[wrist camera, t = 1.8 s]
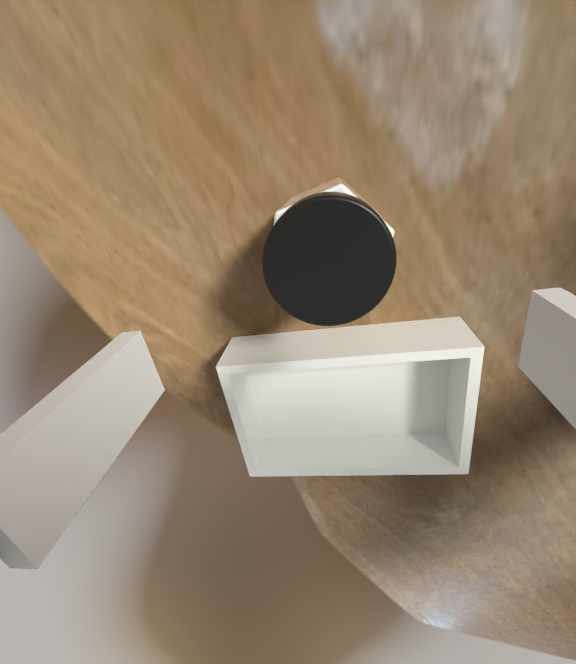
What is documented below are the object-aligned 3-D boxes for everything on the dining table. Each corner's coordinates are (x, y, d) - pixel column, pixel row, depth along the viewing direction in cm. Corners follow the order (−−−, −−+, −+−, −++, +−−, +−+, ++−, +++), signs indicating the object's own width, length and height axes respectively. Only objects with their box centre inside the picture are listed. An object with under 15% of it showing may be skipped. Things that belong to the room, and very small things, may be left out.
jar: (300, 285, 33) (285, 344, 23) (267, 205, 30) (233, 231, 19) (388, 253, 31) (418, 303, 20) (363, 163, 27) (383, 166, 17)
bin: (459, 316, 33) (484, 346, 27) (450, 432, 40) (468, 474, 34) (232, 337, 37) (215, 366, 32) (259, 438, 44) (249, 476, 39)
